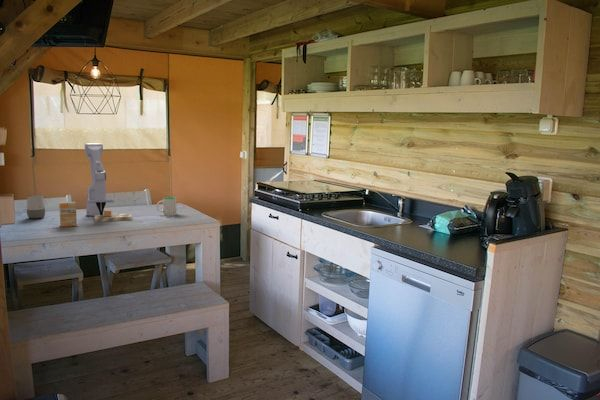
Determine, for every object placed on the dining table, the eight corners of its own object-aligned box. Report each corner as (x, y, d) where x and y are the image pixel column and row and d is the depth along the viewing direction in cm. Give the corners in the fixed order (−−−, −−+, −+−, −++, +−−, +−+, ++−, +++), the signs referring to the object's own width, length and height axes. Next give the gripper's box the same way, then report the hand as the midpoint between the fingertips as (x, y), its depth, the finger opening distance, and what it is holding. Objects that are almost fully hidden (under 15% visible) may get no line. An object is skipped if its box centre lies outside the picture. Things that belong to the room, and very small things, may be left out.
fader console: (94, 221, 279) (94, 218, 278) (94, 218, 288) (94, 215, 287) (131, 219, 286) (131, 216, 286) (130, 216, 295) (130, 213, 295)
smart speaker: (40, 216, 292) (38, 193, 290) (48, 217, 287) (47, 194, 285) (24, 218, 284) (22, 194, 282) (32, 220, 279) (31, 196, 277)
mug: (158, 216, 299) (158, 199, 297) (155, 214, 306) (155, 197, 304) (178, 214, 305) (177, 198, 303) (174, 212, 312) (174, 196, 310)
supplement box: (60, 227, 263) (59, 203, 261) (60, 225, 268) (59, 202, 266) (77, 225, 267) (75, 202, 265) (76, 224, 271) (75, 201, 269)
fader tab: (104, 216, 283) (103, 211, 282) (103, 214, 287) (103, 209, 286) (111, 215, 284) (111, 210, 284) (111, 214, 288) (111, 209, 288)
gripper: (86, 193, 276) (87, 216, 278) (113, 192, 281) (114, 215, 283) (87, 191, 282) (88, 214, 284) (113, 191, 287) (114, 213, 290)
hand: (101, 215), depth 284 cm, fingers closed
